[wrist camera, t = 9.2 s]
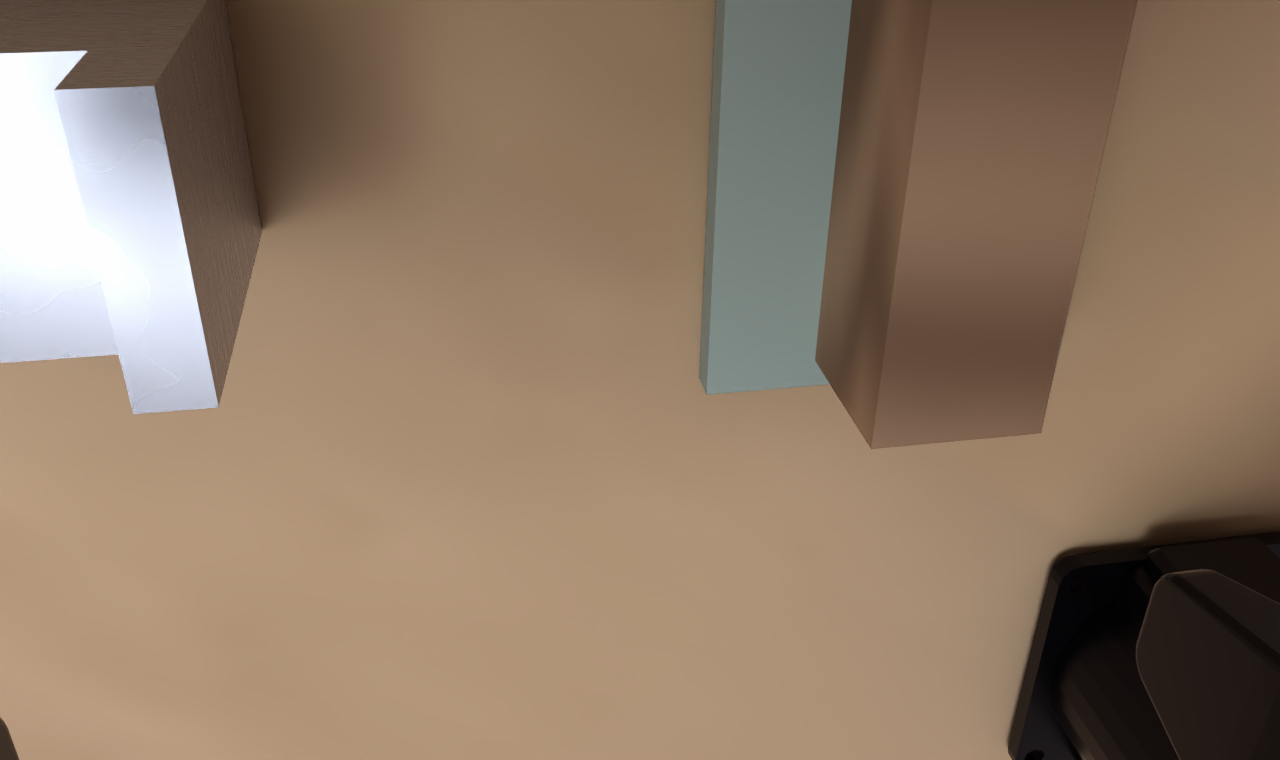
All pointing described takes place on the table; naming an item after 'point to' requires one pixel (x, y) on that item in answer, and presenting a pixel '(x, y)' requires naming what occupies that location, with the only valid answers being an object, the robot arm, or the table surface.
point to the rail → (962, 208)
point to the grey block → (125, 192)
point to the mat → (770, 189)
